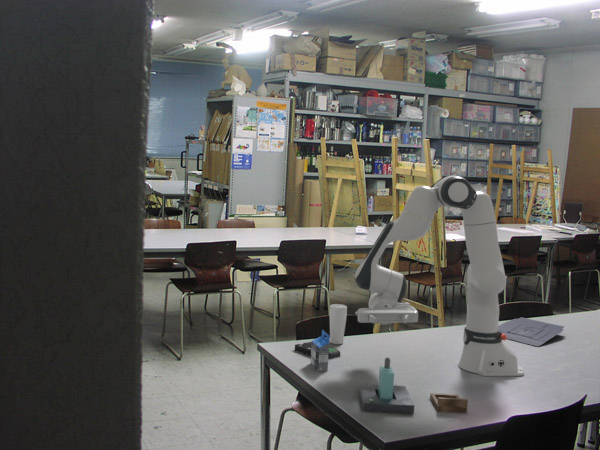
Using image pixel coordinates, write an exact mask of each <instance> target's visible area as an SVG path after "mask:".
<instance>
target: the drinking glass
mask: <svg viewBox="0 0 600 450" xmlns="http://www.w3.org/2000/svg"><path fill="white" fill-rule="evenodd" d="M347 312H348V306H347V305H345V304H340V303H339V304H338V303H334V304H332V303H331V304H330V306H329V336H330V340H329V343H330V344H332V345H342V344H343V343H344V338H345V336H344V335H345V331H346V323H347V316H348V313H347Z"/></svg>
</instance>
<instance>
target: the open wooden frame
mask: <svg viewBox="0 0 600 450" xmlns="http://www.w3.org/2000/svg"><path fill="white" fill-rule="evenodd" d="M429 397H430V398H431V399H430V400H431V402H432V404H433V406H434V408H435V407H436V408H435V409H436V412H438V413H454V414H455V413H457V414H468V404H469V403H468V402H469V400H468V398H461V396H459V394H456V393H455V394H452V393H433V392H431V393H430V395H429Z"/></svg>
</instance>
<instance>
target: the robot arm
mask: <svg viewBox="0 0 600 450" xmlns="http://www.w3.org/2000/svg"><path fill="white" fill-rule="evenodd" d="M441 207H446V208H447V207H448V208H457V209H459V210H460V212H461V214H462V219H463V220H462V221H463V229H464V240H465V246H466V247H465V248H466V251H467V254H468V259H469V265H468V267H467V269H466V270H467V272H466V301H467V302H466V303H467V306H466V307H467V308H466V318H465V319H466V322H465V327H464V331H463V337H462V338H463V349H462V353H461V356H460V359H459V361H458V365H457V366H458V367H459V368H461V369H462V370H464V371H467V372H470V373H474V374H478V375H481V376H483V377H508V376H509V377H510V376H511V377H514V376H515V377H516V376H518V377H519V376H524V374H525V372H524V369H523V367H522V366H520V365H519V364H518V358H517V357H518V356H517V355H516V353H515V352H514V351H513V350H512V349H511V348H510V347H509V346H507V345H506V344H505V343H504V341H507V340H508V339H507V336H506V335H505V334H502V333H501V332H499V331H498V326H499V320H500V319H499V318H500V305H499V294H500V293H501V292H503V291H504V290H505V288H506V286H507V277H506V273H505V272H506V271H505V268H504V267H505V266H504V262H503V257H502V252H501V249H500V244H499V238H498V229H497V221H496V219H497V218H496V213H495V208H494V205H493V202H492V198H491V196H490V195H489V194H488V193H486V192H484V191H478V190H477V191H476V190H475V188H474V187H473V186H472V184H471V183H470V181H468V180H467V179H466V178H464V177H463V176H458V175H448V176H447V175H446V176H444V177H442V178H439V180H437V181H436V182H435V183H434V184H432V185H431V186H427V185H418V186H416V187H414V189H413V190H412V192H411V193H410V195H409V197H408V199H407V200H406V202H405V204H404V207H403V209H402V211H401V213H400V215H399V216H398V218H396V219H395V220H394V221H390V222H388V223H387V224H386V225H385V226H384V228H383V229H382V230H381V232H380V234H379V236H378V237H377V238H376V239H375V241H374V244H373V245H372V246H371V248H370V250H369V252H368V253H367V254H366V256H365V257H364V259H363V261H362V262H361V264H360V265H358V268H357V269H356V271H355V274H354V281H355V283H356V285H357V286H358V288H359V289H362V290H365V291H370V292H372V293H373V294H371V296H370V297H369V300H368V307H361V308H358V309H357V310H356V311H355V315H356V316H357V322H358V323H361V324H364V323H366V324H367V323H369V324H370V323H371V324H372V323H373V324H374V325H375V324H379V325H383V326H387V325H388V326H389V325H391V324H394V323H397V324H398V323H401V324H408V323H410V324H411V323H413V324H414V323H418V321H419V311H418V310H417V309H416V307H414V306H412V305H411V303H410V302H407V301H403V299H404V297H405V294H406V292H407V288H408V283H407V279H406V277H405V275H404V274H403V273H400V272H398V271H396V270H393V269H389V268H387V267H384V266H382V265H379V264H378V261H379V259H380V258H381V256H382V255H383V253H384V251H385V250H386V248H387V247H388V246H389V245H390V244H391V243H393V242H396V241H416V240H419V239H422V238H423V237H425V236H426V235H427V233H428V232H429V230H430V227H431V225H432V223H433V220H434V218H435V214H436V213H437V212H438V210H439V209H440V208H441Z"/></svg>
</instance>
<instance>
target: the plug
mask: <svg viewBox="0 0 600 450" xmlns="http://www.w3.org/2000/svg"><path fill="white" fill-rule="evenodd" d="M378 372H379V373H378V385H379V386H378V399H393V385H394V382H395V381H394V380H395V373H394V370H393V367H392V366H391V358H389V357H385V358H384V365H383V366H379V371H378Z"/></svg>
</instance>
